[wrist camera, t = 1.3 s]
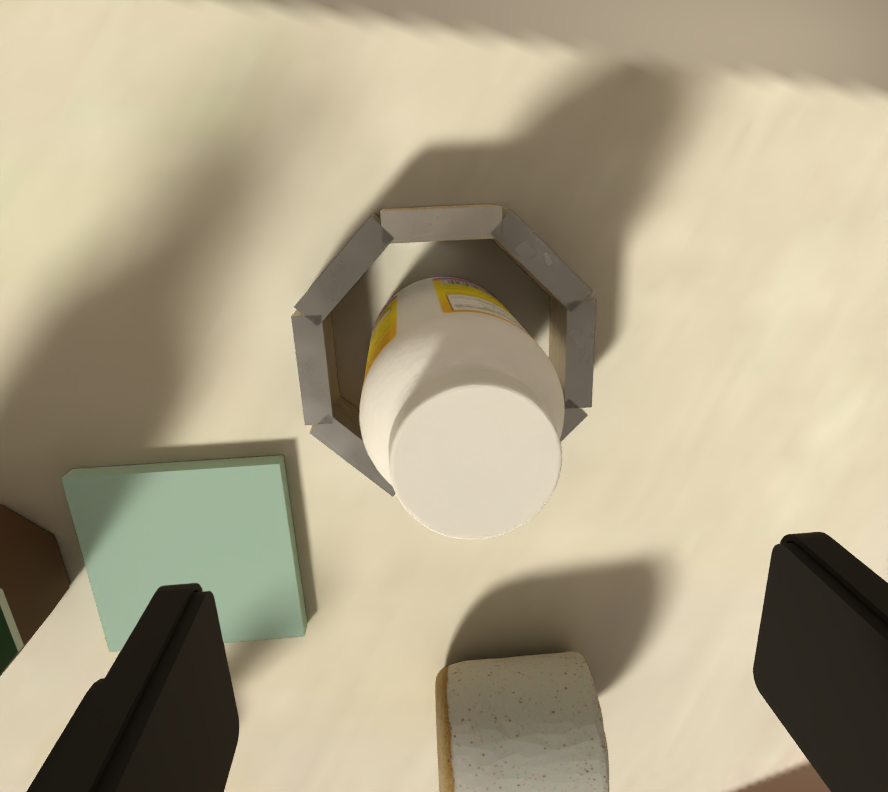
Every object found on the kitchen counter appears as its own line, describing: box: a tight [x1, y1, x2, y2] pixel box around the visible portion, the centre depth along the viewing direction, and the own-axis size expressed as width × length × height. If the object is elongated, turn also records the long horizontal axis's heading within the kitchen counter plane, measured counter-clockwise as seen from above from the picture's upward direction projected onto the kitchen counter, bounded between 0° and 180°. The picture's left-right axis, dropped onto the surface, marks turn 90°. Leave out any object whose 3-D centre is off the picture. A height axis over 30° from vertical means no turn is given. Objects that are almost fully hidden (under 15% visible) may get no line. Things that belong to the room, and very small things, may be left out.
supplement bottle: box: [359, 277, 564, 540], centre depth 22 cm, size 7×7×13 cm
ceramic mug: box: [435, 651, 609, 792], centre depth 32 cm, size 11×8×8 cm
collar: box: [291, 204, 596, 496], centre depth 27 cm, size 12×12×3 cm
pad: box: [61, 455, 307, 652], centre depth 30 cm, size 10×10×1 cm
